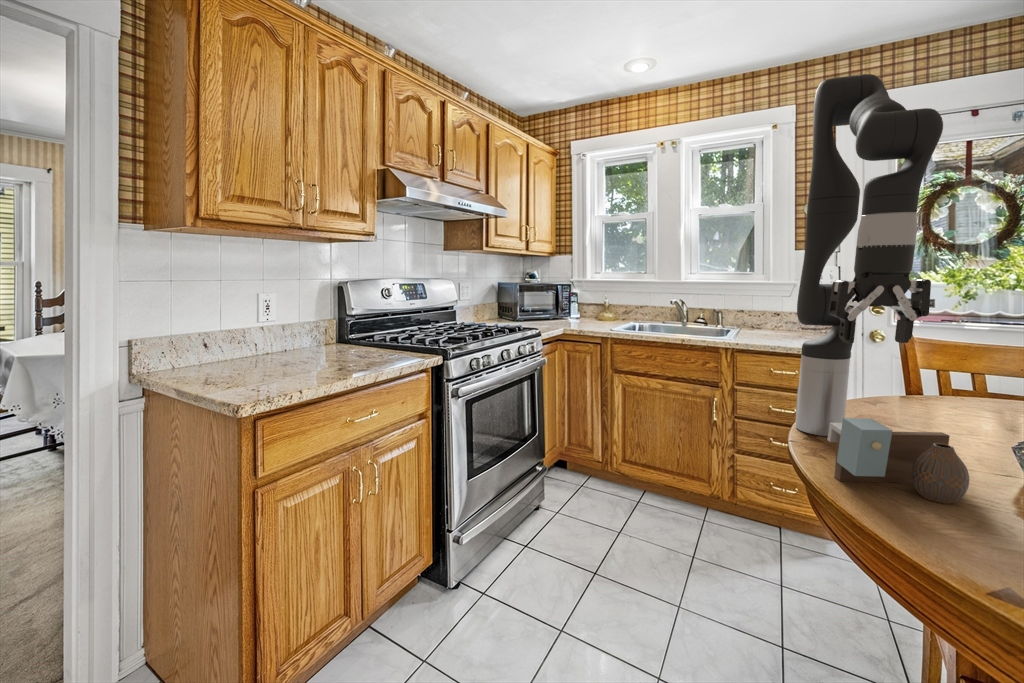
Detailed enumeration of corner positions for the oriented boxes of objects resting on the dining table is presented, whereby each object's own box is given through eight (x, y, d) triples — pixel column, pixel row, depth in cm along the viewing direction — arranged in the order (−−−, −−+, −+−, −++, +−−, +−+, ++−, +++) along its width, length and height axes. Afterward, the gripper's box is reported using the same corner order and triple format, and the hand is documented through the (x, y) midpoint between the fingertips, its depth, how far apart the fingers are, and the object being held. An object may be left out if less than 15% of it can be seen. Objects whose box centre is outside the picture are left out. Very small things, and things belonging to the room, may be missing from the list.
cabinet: (825, 453, 86) (831, 410, 85) (852, 453, 86) (858, 411, 84) (857, 478, 77) (865, 431, 76) (888, 479, 77) (896, 432, 75)
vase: (909, 499, 76) (915, 446, 75) (908, 484, 82) (914, 435, 81) (968, 512, 72) (976, 457, 71) (963, 496, 78) (970, 443, 76)
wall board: (834, 477, 85) (838, 430, 84) (936, 479, 84) (941, 432, 83) (839, 481, 83) (844, 433, 82) (943, 483, 82) (949, 435, 81)
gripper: (914, 243, 81) (903, 338, 83) (825, 244, 82) (817, 339, 84) (951, 241, 73) (937, 346, 76) (853, 243, 74) (842, 346, 77)
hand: (874, 342), depth 80 cm, fingers open, 8 cm apart
